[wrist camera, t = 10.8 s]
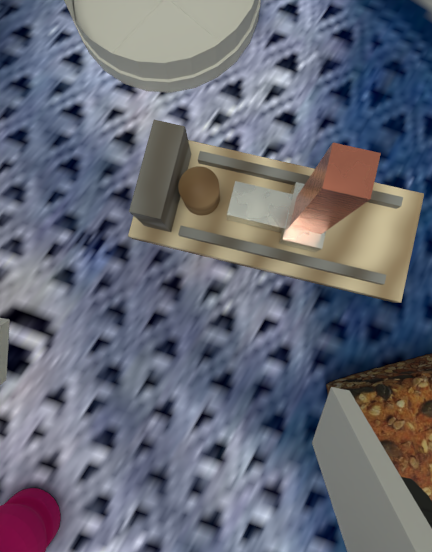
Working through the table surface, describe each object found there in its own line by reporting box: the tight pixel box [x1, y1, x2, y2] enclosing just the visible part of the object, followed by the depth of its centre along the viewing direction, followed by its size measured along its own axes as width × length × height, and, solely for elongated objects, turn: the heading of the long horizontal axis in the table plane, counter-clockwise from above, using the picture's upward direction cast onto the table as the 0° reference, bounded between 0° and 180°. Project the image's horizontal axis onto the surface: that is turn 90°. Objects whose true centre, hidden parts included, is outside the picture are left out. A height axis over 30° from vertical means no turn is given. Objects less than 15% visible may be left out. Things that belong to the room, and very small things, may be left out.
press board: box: [128, 120, 424, 302], centre depth 34 cm, size 30×12×8 cm, turn 76°
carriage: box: [227, 143, 381, 252], centre depth 29 cm, size 10×6×14 cm, turn 76°
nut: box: [178, 166, 220, 216], centre depth 35 cm, size 4×4×4 cm
